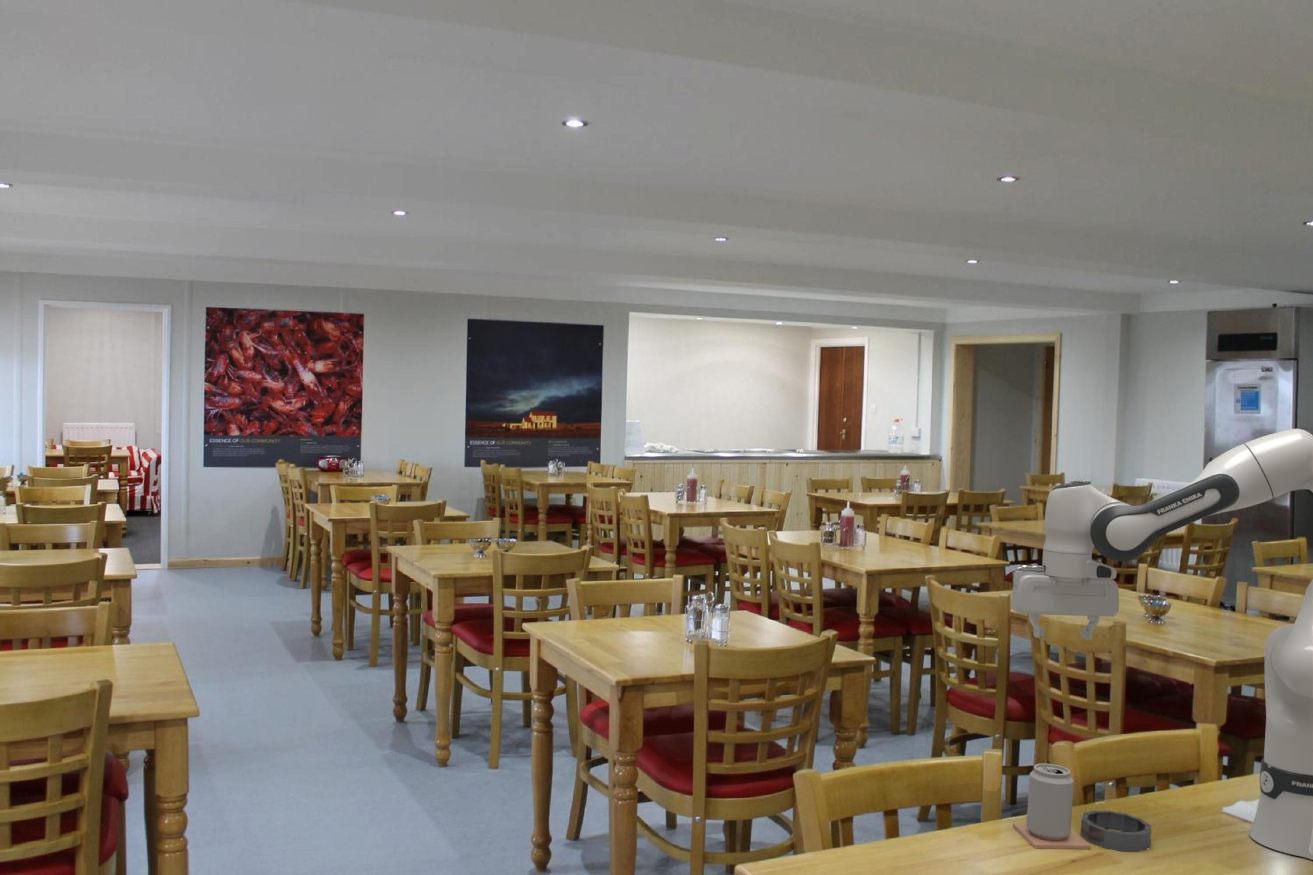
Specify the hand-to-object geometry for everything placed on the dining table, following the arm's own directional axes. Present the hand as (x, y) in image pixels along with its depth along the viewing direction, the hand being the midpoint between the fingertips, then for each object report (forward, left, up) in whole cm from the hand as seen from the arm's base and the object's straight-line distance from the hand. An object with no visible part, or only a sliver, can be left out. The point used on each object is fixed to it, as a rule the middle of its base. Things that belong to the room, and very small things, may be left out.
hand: (1062, 637), depth 217 cm
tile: (+7, +15, -33) cm, 37 cm away
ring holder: (-5, +15, -33) cm, 37 cm away
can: (+8, +15, -33) cm, 37 cm away
